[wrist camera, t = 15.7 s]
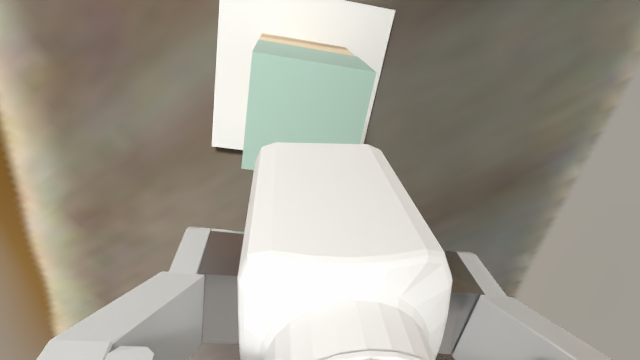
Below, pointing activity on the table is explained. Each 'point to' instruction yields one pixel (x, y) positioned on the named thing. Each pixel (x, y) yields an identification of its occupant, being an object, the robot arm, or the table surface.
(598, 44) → the table surface
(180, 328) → the robot arm
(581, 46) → the table surface
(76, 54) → the table surface
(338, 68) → the sage brick
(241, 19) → the plate
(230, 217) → the table surface
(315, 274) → the pepper shaker
